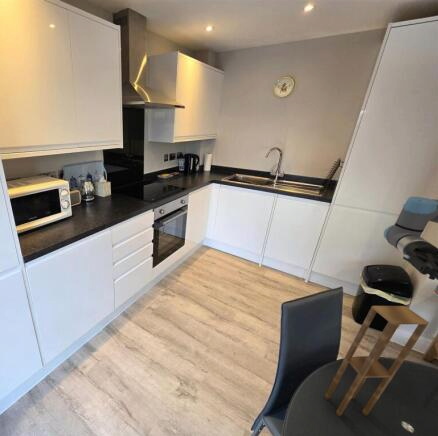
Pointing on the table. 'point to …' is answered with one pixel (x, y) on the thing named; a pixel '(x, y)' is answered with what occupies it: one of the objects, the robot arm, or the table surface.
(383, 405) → the table surface
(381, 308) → the shelf
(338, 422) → the table surface
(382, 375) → the stand frame
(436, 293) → the pill bottle
